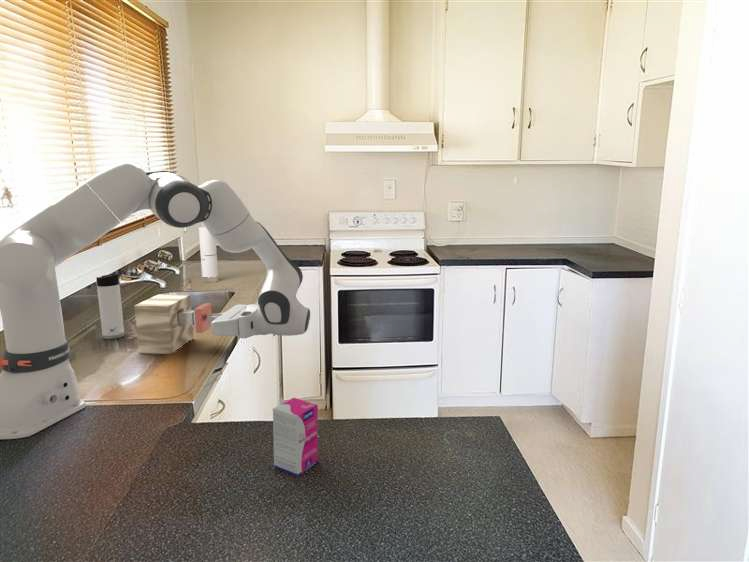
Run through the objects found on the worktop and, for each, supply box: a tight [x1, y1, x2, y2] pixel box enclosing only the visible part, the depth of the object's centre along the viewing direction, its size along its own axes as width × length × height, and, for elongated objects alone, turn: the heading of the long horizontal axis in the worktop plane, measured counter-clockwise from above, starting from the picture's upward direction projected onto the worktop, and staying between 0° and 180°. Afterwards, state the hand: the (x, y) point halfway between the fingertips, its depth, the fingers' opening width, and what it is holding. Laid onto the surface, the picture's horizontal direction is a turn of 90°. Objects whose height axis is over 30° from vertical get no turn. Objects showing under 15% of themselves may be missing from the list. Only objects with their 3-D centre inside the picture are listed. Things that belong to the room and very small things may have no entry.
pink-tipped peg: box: [177, 302, 213, 334], centre depth 161 cm, size 7×14×7 cm, turn 84°
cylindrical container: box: [198, 226, 219, 278], centre depth 251 cm, size 7×7×25 cm
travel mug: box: [96, 273, 125, 340], centre depth 171 cm, size 6×7×20 cm
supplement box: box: [272, 397, 319, 477], centre depth 97 cm, size 6×6×12 cm
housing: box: [133, 293, 194, 355], centre depth 162 cm, size 14×10×14 cm
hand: (208, 317), depth 160 cm, fingers closed
